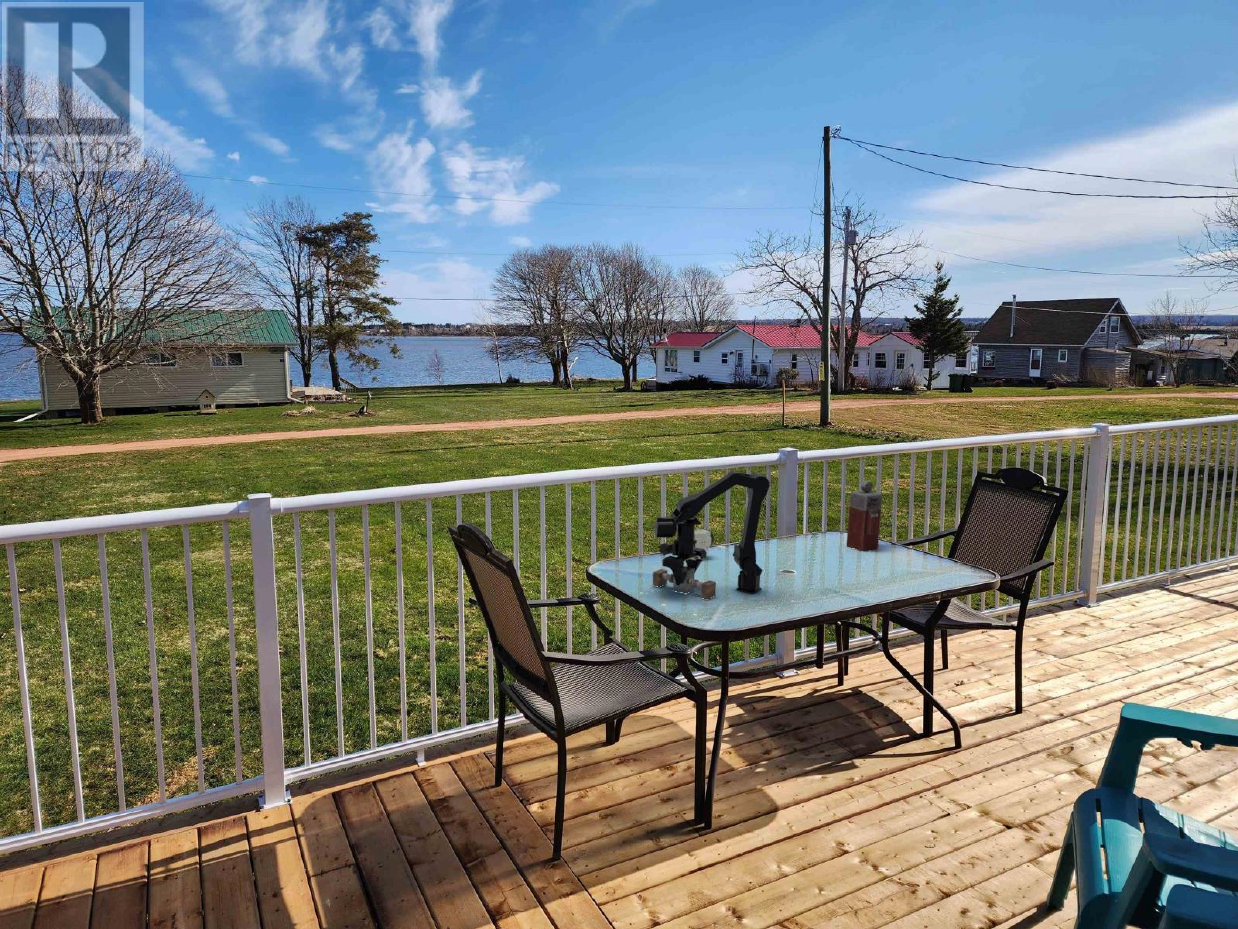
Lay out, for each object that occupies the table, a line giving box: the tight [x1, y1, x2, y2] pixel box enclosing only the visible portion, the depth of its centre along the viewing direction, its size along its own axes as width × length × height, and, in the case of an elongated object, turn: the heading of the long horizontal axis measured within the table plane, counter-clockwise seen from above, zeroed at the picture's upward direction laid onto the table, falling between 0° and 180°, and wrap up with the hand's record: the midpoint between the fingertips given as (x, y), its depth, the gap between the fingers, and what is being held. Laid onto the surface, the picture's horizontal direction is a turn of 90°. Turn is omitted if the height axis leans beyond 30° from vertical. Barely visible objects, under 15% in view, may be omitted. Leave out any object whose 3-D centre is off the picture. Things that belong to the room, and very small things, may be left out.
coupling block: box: [672, 565, 696, 593], centre depth 256 cm, size 6×5×8 cm
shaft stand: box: [652, 568, 717, 600], centre depth 256 cm, size 22×5×5 cm, turn 53°
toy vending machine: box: [846, 480, 883, 552], centre depth 314 cm, size 9×11×28 cm
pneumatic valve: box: [694, 528, 715, 559], centre depth 294 cm, size 6×12×12 cm, turn 122°
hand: (683, 582), depth 256 cm, fingers open, 7 cm apart
